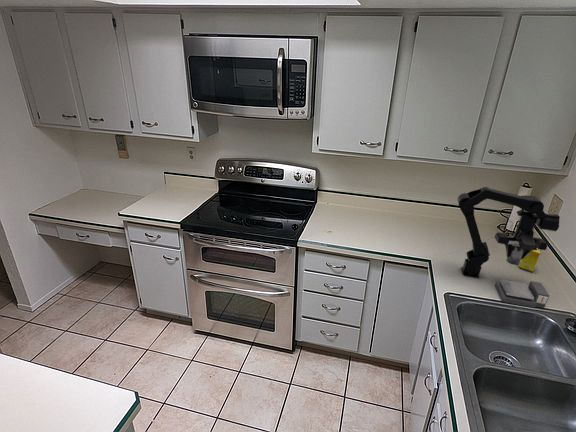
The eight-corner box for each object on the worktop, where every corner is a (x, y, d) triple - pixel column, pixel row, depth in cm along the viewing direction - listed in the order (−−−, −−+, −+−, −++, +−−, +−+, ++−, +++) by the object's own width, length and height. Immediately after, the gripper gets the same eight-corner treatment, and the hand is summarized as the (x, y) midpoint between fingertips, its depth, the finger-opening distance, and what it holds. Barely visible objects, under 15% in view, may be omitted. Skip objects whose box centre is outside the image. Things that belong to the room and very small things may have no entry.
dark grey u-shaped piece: (502, 301, 146) (506, 289, 143) (494, 285, 156) (498, 273, 154) (545, 309, 142) (551, 297, 140) (534, 292, 153) (539, 280, 150)
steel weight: (508, 263, 154) (514, 247, 151) (504, 258, 159) (510, 242, 155) (520, 265, 153) (526, 249, 150) (517, 259, 158) (522, 244, 154)
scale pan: (506, 294, 145) (507, 292, 145) (499, 281, 154) (500, 279, 153) (533, 299, 143) (534, 297, 142) (525, 285, 152) (526, 283, 151)
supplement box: (520, 263, 174) (527, 244, 170) (534, 268, 171) (542, 248, 167) (518, 268, 170) (525, 248, 166) (532, 273, 167) (540, 253, 162)
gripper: (507, 231, 143) (496, 263, 150) (559, 238, 139) (545, 271, 146) (499, 219, 153) (489, 251, 160) (547, 226, 149) (535, 258, 156)
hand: (514, 257), depth 155 cm, fingers closed on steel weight, 5 cm apart
